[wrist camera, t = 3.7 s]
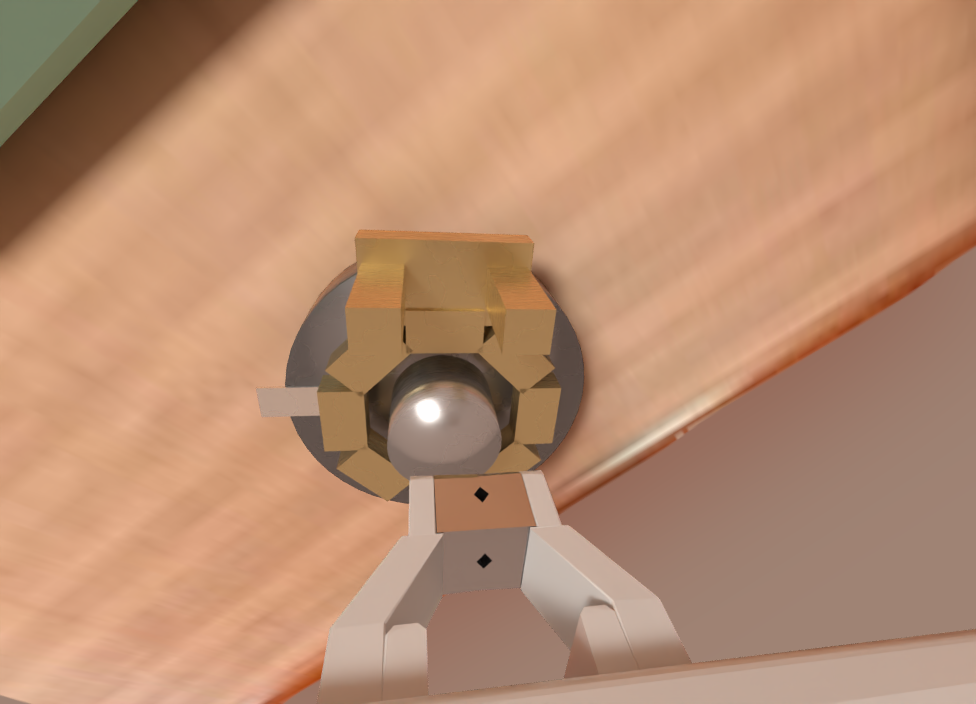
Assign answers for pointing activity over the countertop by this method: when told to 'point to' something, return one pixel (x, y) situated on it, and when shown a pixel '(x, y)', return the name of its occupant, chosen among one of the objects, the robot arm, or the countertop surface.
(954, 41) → the countertop surface
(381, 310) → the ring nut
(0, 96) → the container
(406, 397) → the grey round piece
